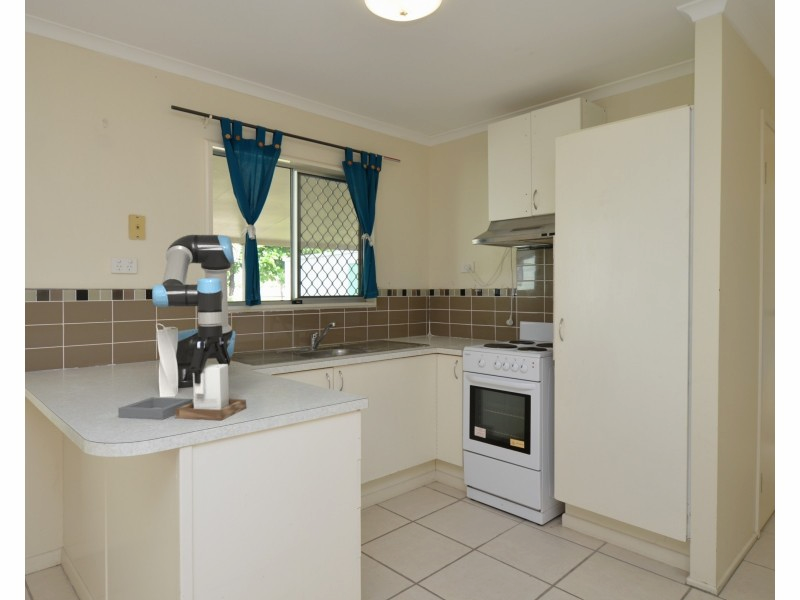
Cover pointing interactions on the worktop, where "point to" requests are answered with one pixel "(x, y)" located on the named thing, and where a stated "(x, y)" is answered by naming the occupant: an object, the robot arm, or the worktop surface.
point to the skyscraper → (168, 361)
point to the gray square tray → (148, 412)
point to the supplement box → (213, 388)
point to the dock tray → (210, 411)
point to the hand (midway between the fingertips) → (211, 389)
